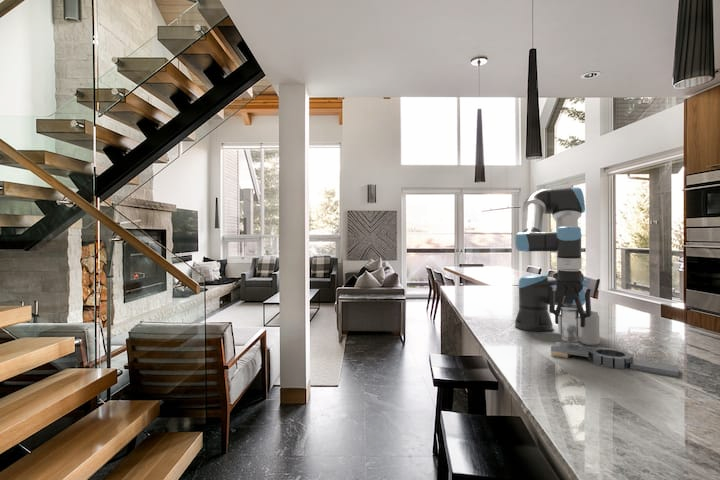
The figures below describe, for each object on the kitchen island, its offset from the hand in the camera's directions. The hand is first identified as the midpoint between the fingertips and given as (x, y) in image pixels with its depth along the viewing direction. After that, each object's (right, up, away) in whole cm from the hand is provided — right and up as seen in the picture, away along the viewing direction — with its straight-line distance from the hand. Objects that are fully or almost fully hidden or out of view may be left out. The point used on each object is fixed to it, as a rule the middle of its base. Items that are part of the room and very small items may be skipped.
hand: (570, 334), depth 136 cm
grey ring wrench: (+4, -5, -15) cm, 17 cm away
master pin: (0, -2, 0) cm, 2 cm away
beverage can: (+11, -5, +6) cm, 13 cm away
